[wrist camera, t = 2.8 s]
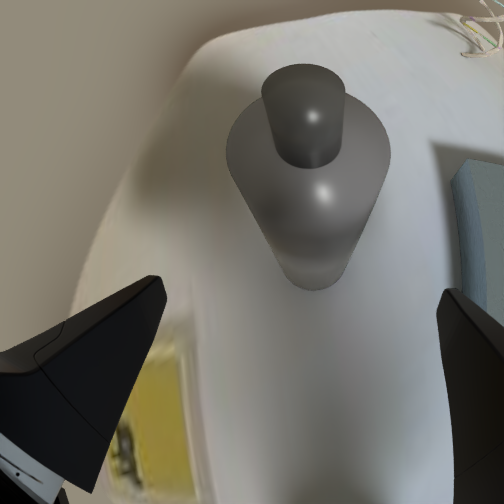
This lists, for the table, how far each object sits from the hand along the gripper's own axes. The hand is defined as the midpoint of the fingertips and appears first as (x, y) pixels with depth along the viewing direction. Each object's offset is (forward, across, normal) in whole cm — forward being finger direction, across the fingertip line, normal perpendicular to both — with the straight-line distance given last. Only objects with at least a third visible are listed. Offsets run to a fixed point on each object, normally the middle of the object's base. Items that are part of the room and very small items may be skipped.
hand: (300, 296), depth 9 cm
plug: (+10, 0, +5) cm, 12 cm away
